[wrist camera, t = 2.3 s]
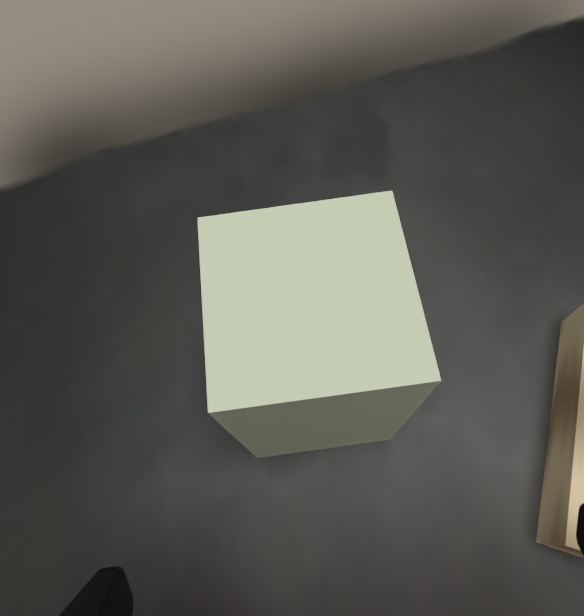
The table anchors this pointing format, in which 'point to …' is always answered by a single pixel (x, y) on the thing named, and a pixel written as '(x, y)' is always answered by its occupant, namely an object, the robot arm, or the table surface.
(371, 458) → the table surface
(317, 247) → the sage block
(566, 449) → the birch block
